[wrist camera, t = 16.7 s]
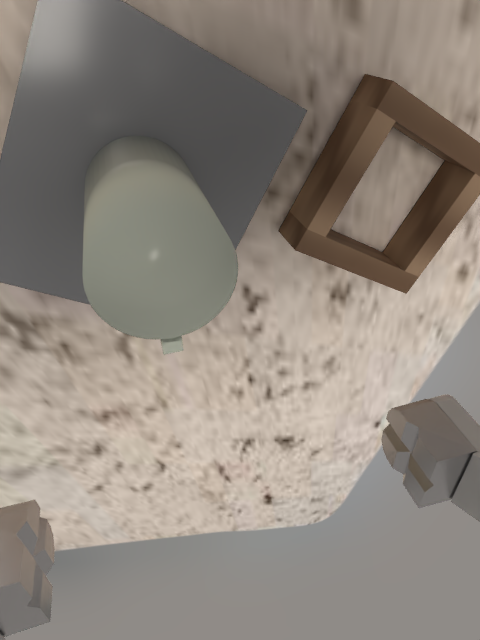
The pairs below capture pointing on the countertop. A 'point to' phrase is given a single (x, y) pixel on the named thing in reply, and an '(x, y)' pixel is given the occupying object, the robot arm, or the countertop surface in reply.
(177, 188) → the pale green mug
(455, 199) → the walnut holder
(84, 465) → the countertop surface
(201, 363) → the countertop surface
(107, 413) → the countertop surface
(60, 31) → the charcoal tile
